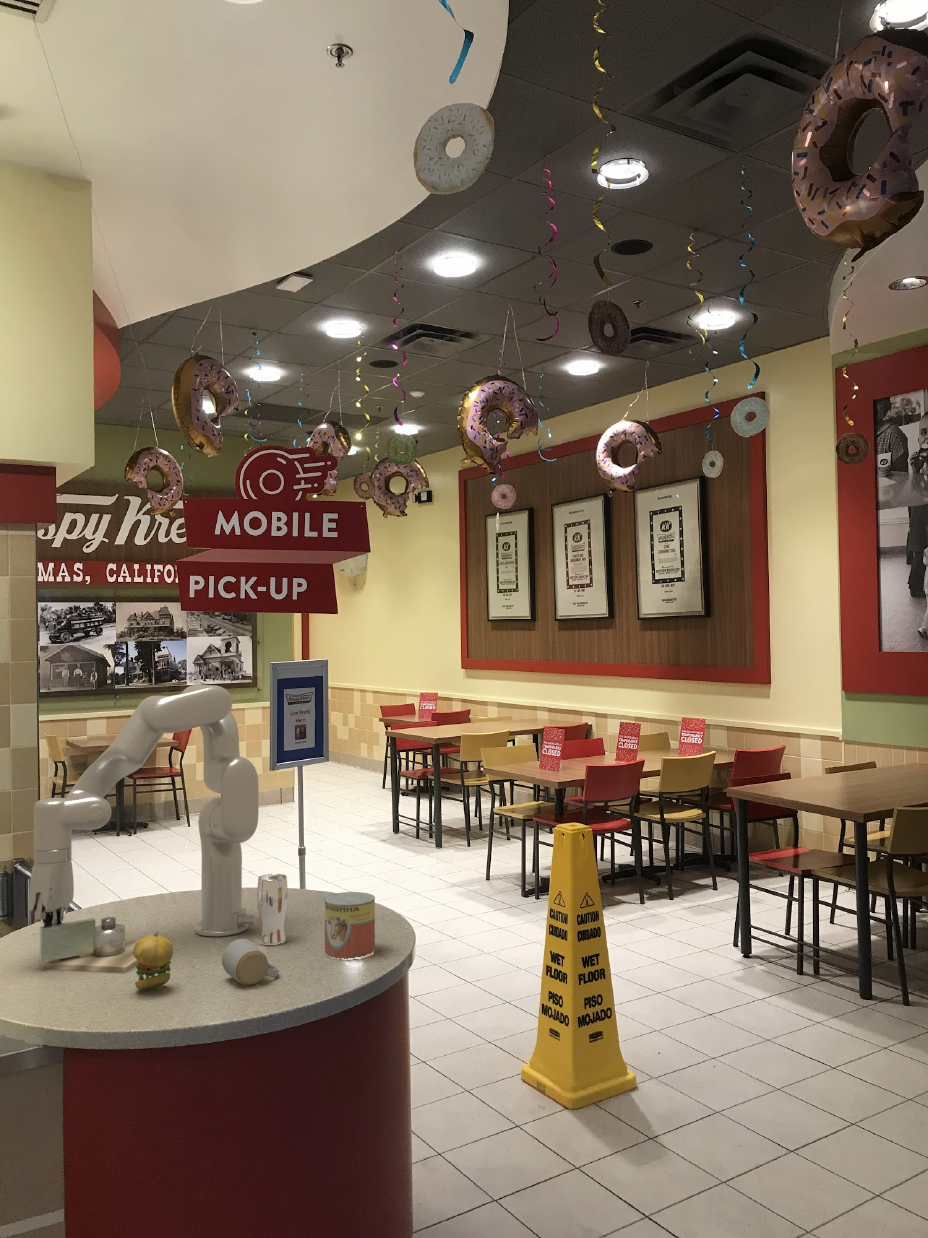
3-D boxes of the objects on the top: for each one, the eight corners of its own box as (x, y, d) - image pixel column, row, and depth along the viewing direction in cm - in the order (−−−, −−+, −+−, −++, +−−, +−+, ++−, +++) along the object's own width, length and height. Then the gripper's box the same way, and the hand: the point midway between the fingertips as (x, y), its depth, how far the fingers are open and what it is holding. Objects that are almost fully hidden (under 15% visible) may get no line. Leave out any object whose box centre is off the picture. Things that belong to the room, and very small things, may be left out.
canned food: (314, 956, 209) (314, 901, 210) (342, 942, 219) (342, 890, 220) (358, 963, 204) (357, 907, 205) (384, 948, 214) (384, 895, 215)
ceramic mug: (236, 990, 188) (236, 951, 188) (221, 979, 195) (221, 941, 195) (285, 981, 194) (286, 942, 194) (269, 970, 201) (270, 933, 201)
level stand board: (165, 947, 217) (165, 940, 217) (125, 973, 199) (125, 966, 199) (92, 944, 220) (92, 937, 220) (46, 969, 202) (46, 962, 202)
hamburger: (162, 981, 194) (163, 922, 194) (180, 990, 188) (180, 929, 189) (126, 991, 188) (126, 929, 189) (143, 1000, 183) (143, 937, 184)
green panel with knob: (119, 944, 214) (119, 910, 215) (129, 952, 209) (129, 917, 209) (36, 959, 204) (36, 924, 204) (44, 968, 198) (44, 931, 199)
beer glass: (280, 947, 216) (280, 881, 216) (252, 946, 217) (252, 879, 218) (292, 938, 223) (292, 874, 223) (264, 937, 224) (264, 873, 225)
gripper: (57, 848, 214) (57, 930, 214) (15, 863, 200) (15, 951, 199) (87, 849, 213) (88, 931, 212) (48, 864, 198) (48, 952, 198)
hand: (53, 941), depth 206 cm, fingers closed
